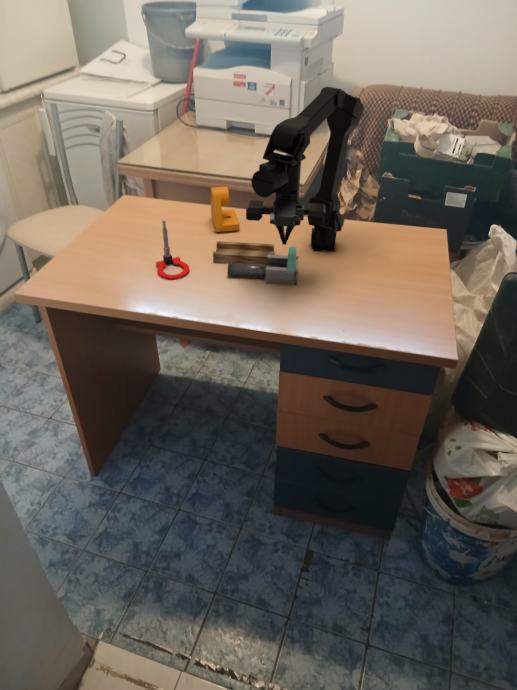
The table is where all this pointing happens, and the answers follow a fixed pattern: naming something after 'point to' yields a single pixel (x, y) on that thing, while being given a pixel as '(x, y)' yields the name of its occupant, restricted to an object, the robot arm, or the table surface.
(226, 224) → the bracket
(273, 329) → the table surface
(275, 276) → the socket
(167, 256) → the tow hook
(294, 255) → the teal rectangular block
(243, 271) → the rod
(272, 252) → the rail
